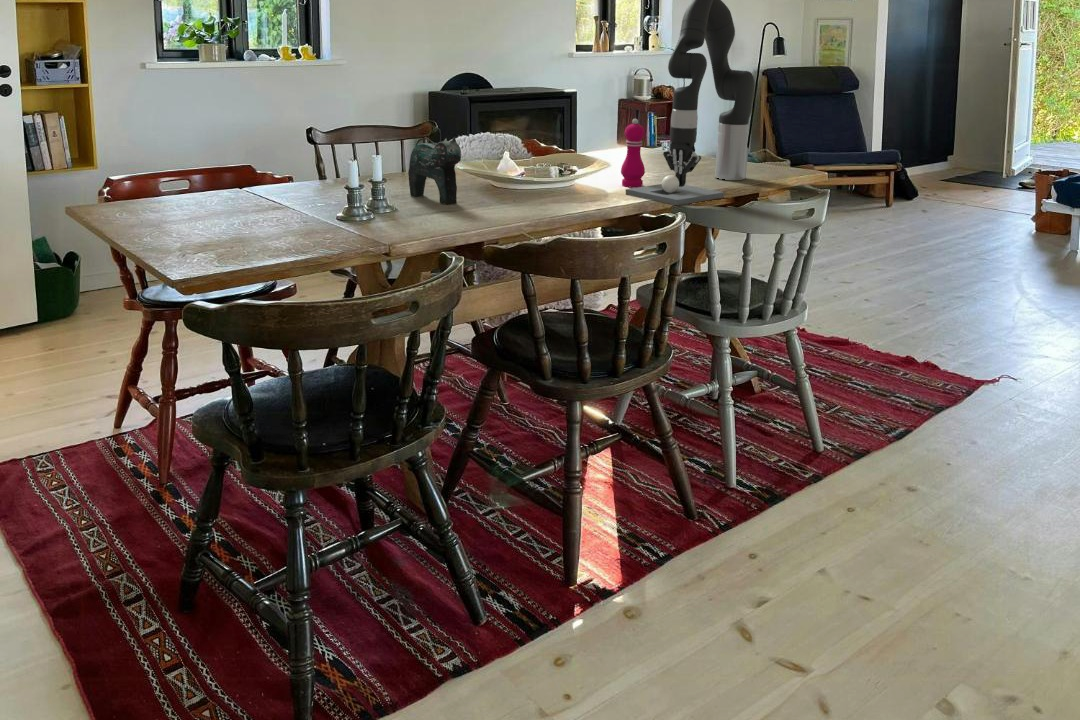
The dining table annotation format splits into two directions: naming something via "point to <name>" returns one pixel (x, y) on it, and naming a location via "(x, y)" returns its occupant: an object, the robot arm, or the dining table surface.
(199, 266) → the dining table surface
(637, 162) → the pepper mill
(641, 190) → the plate
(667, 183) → the ball
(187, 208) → the dining table surface
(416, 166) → the ceramic cat
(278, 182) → the dining table surface
